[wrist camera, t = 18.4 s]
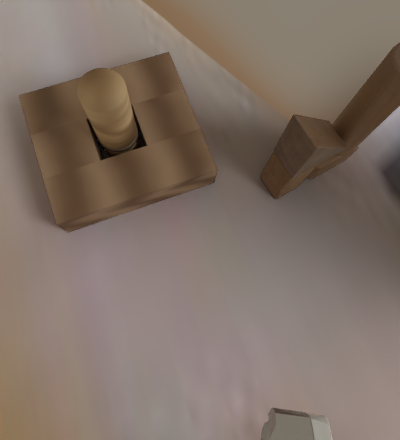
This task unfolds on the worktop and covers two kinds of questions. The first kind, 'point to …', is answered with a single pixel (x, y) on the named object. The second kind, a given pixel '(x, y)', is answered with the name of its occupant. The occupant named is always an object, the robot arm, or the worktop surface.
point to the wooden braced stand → (333, 131)
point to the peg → (109, 110)
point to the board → (123, 163)
